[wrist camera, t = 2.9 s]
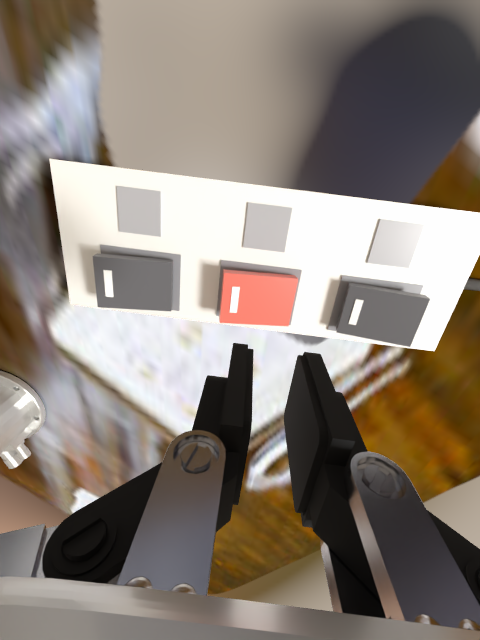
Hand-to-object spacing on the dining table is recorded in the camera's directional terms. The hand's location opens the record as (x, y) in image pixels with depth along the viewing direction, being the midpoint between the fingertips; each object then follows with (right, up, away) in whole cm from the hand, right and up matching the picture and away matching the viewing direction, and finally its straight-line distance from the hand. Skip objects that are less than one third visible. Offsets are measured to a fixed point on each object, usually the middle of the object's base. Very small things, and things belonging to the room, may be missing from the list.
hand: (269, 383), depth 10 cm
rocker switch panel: (+7, +9, +21) cm, 24 cm away
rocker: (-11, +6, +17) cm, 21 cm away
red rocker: (+1, +4, +17) cm, 18 cm away
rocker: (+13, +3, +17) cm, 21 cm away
